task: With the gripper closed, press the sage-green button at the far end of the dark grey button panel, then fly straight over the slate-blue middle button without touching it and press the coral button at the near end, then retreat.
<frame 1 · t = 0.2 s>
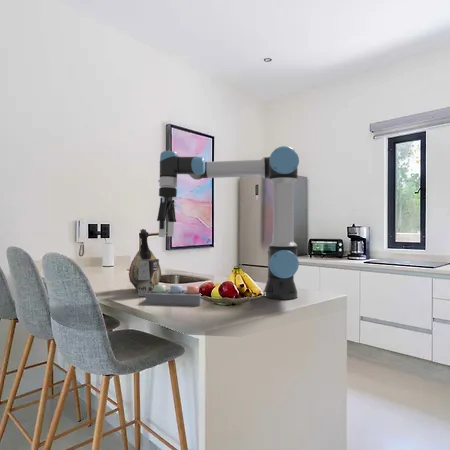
hand: (166, 236, 153), 27 cm above the countertop, tool pointing down, fingers open, 13 cm apart
button slate: (176, 290, 147), point 4 cm above the countertop, slide at 0.0 cm
coffee box: (148, 295, 161), on the countertop, touching ceramic jug
ceramic jug: (144, 291, 172), on the countertop, touching coffee box
button sage: (159, 290, 148), point 4 cm above the countertop, slide at 0.0 cm
button coral: (192, 291, 146), point 5 cm above the countertop, slide at 0.0 cm
panel: (176, 301, 147), on the countertop
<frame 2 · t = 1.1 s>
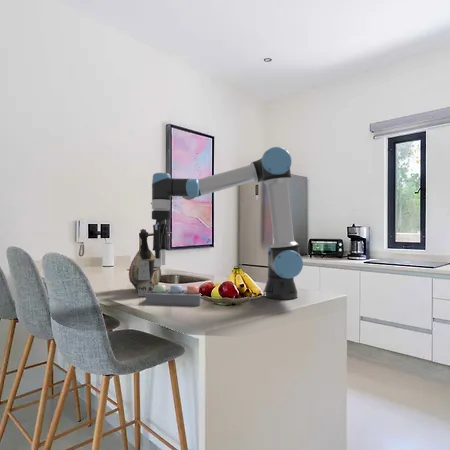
hand: (160, 265, 148), 15 cm above the countertop, tool pointing down, fingers open, 6 cm apart
nothing on the countertop moved.
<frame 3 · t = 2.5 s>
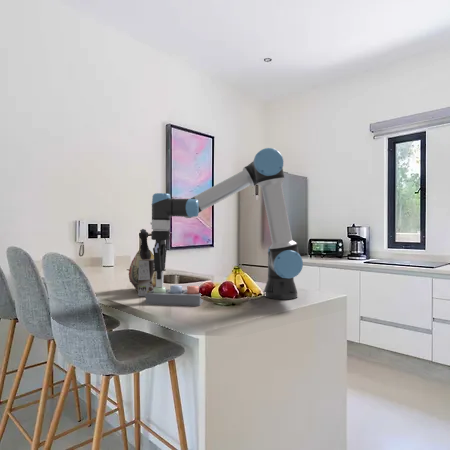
hand: (159, 286, 148), 6 cm above the countertop, tool pointing down, fingers closed
button sage: (159, 292, 148), point 4 cm above the countertop, slide at -0.8 cm, touching gripper
everything else where it was.
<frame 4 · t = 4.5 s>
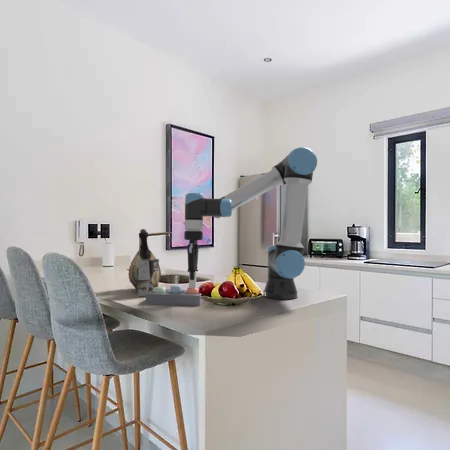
hand: (192, 287, 146), 6 cm above the countertop, tool pointing down, fingers closed
ceramic jug: (144, 291, 172), on the countertop, touching coffee box
button sage: (159, 292, 148), point 4 cm above the countertop, slide at -0.8 cm
button coral: (192, 292, 146), point 4 cm above the countertop, slide at -0.6 cm, touching gripper
everything else where it was.
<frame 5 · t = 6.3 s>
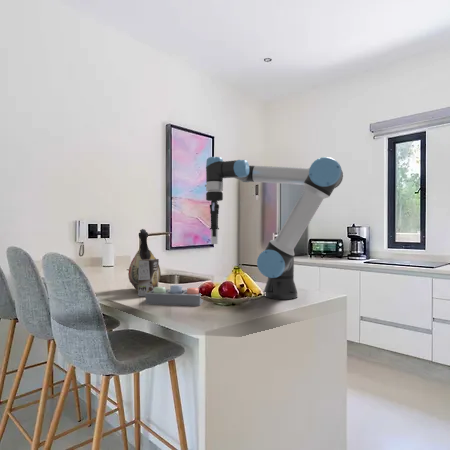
hand: (214, 243, 160), 24 cm above the countertop, tool pointing down, fingers closed
ceramic jug: (144, 291, 172), on the countertop, touching coffee box
button coral: (192, 293, 146), point 4 cm above the countertop, slide at -0.9 cm
everything else where it was.
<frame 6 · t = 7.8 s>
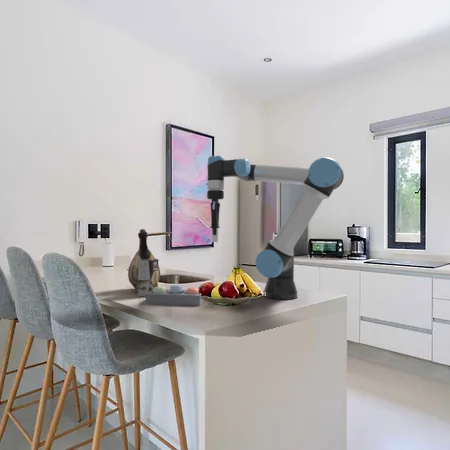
hand: (214, 242, 161), 24 cm above the countertop, tool pointing down, fingers closed
nothing on the countertop moved.
at the end: button sage slide at -0.8 cm; button coral slide at -0.9 cm; button slate slide at 0.0 cm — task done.
